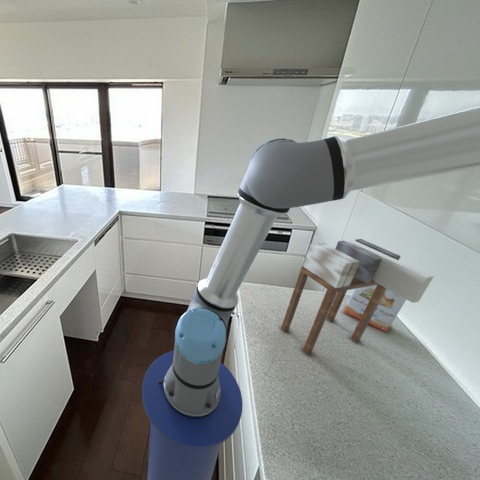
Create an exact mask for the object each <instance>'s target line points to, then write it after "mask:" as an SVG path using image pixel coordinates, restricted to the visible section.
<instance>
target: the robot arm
mask: <svg viewBox="0 0 480 480" xmlns="http://www.w3.org/2000/svg"><path fill="white" fill-rule="evenodd" d="M475 168H480V105H479V106H475V107H471V108H467V109H464V110H459V111H456V112H452V113H448V114H444V115H441V116H436V117H433V118H428V119H426V120H425V119H424V120H421V121H417V122H413V123H410V124H409V123H408V124H405V125H402V126H398V127H394V128H390V129H386V130H382V131H377V132H374V133H369V134H366V135H362V136H358V137H354V138H350V139H342V138H341V137H339V136H337V135H334V136H331V137H326V138H322V139H319V140H318V139H317V140H313V141H312V140H310V141H304V142H303V141H302V142H297V141H295V140H293V139H290V138H283V137H282V138H274V139H271V140H269V141H267V142H265V143H263V144H262V145H260V146H259V147H258V148H257V149H256V150H255V151H254V153H253V154H252V156H251V158H250V160H249V164H248V168H247V170H246V172H245V174H244V175H243V176H244V177H243V179H242V181H241V184H240V186H239V188H238V191H237V193H236V195H237V197H238V199H239V202H240V203H239V205H238V207H237V209H236V212H235V213H234V216H233V219H232V221H231V223H230V225H229V227H228V229H227V232H226V234H225V236H224V238H223V241H222V243H221V245H220V248H219V251H218V252H217V255H216V257H215V259H214V261H213V264H212V265H211V269H210V271H209V272H208V274H207V277H205V278H202V279H201V280H199V282H198V284H197V287H196V289H195V290H194V292H193V294H192V297H191V299H190V302H189V305H188V308H187V309H186V311H185V312H184V313H183V314H182V315H181V316H180V317H179V319H178V321H177V325H176V327H175V329H174V345H173V346H174V347H173V351H174V356H173V364H172V365H171V367H170V368H169V370H168V372H167V374H166V376H165V380H162V381H158V383H159V384H162V383H164V394H165V397H166V400H167V402H168V403H169V405H170V406H171V407H172V408H173V409H174V410H175V411H176V412H177V413H179V414H180V415H182V416H184V417H187V418H192V419H200V418H205V417H207V416H209V415H210V414H212V413H213V412H214V411H215V410H216V408H217V407H218V404H219V401H220V397H221V387H220V382H219V378H218V371H219V367H220V362H221V363H222V358H223V352H224V349H225V346H226V343H227V330H228V324H229V320H230V318H231V316H232V314H233V313H234V311H235V309H236V307H237V305H238V303H239V295H238V293H237V292H238V290H239V289H240V287H241V285H242V283H243V281H244V280H245V278H246V276H247V274H248V272H249V270H250V269H251V267H252V265H253V263H254V261H255V259H256V257H257V255H258V254H259V252H260V249H261V248H262V246H263V244H264V242H265V241H266V238H267V236H268V235H269V232H270V231H271V229H272V227H273V225H274V223H275V222H276V219H277V218H279V217H281V216H284V215H287V214H288V213H289V211H290V209H291V208H292V209H293V208H300V207H306V206H311V205H317V204H323V203H328V202H334V201H340V200H344V199H345V198H346V197H347V196H348V195H349V194H350V193H351V192H352V191H356V190H357V191H358V190H362V189H363V190H364V189H368V188H373V187H379V186H384V185H389V184H395V183H400V182H405V181H412V180H416V179H422V178H428V177H433V176H437V175H438V176H439V175H443V174H449V173H454V172H460V171H465V170H470V169H475Z"/></svg>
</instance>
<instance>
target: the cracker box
mask: <svg viewBox="0 0 480 480" xmlns="http://www.w3.org/2000/svg"><path fill="white" fill-rule="evenodd" d="M376 287H377V285H373V286H368V287H362V288H356V289H353V292H352V294H351V296H350V298H349V299H348V303H347V305H346V306H345V308H344V310H343V313H345V314H347V315H349V316H350V317H353V318H355V319H358V321H360V319H361V317H362V315H363V313H364V311H365V309H366V307H367V305H368V303H369V301H370V299H371V297H372V295H373V293H374V291H375V289H376ZM406 301H407V299H405V298H403V297H401V296H399V295H398V294H396V293H394V292H392V291H390V290H389V289H386V291H385V293H384V295H383V296H382V298H381V300H380V302H379V304H378V306H377V308H376V310H375V312H374V314H373V316H372V317H371V319H370V321H369V323H368V325H370V326H372V327H374V328H376V329H377V330H380V331H382V332H385V333H387V332H388V331H389V329H390V327H391V326H392V325H393V323H394V321H395V319H396V317H397V316H398V315H399V313H400V311H401V309H402V308H403V306H404V304H405V303H406Z"/></svg>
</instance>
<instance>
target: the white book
mask: <svg viewBox="0 0 480 480" xmlns="http://www.w3.org/2000/svg"><path fill="white" fill-rule="evenodd" d="M346 242H348V243H350V244H352V245H354V246H356V247H358V248H360V249H363V250H365V251H367V252H369V253H371V254H373V255H375V256H378V257H380V258H382V260H381V262H380V264H379V266H378V268H377V270H376V272H375V274H374V276H373V279H372V281H374V282H376V283H378V284H380V285H381V286H383V287H385V288H387V289H389V290H390V291H392V292H394V293H396V294H398V295H399V296H401V297H403V298H405V299H406V301H409V302H410V303H411V304H412V303H413V304H414V303H418V302H420V301H421V299H422V297H423V296H424V294H425V292H426V290H427V289H428V287H429V286H430V284H431V282H432V280H433V279H434V277H435V276H434V275H433V274H432V275H431V274H430V273H427V272H426V271H424V270H421V269H418V268H416V267H414V266H412V265H410V264H408V263H405V262H403V261H401V260H400V259H399V260H396V259H394V258H392V257H390V256H387V255H385V254H383V253H381V252H379V251H376V250H374V249H372V248H370V247H368V246H365V245H363V244H361V243H359V242H356V241H355V239H347V240H346Z"/></svg>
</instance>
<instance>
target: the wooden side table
mask: <svg viewBox="0 0 480 480" xmlns="http://www.w3.org/2000/svg"><path fill="white" fill-rule="evenodd" d="M354 241H356V242H359V243H361V244H363V245H365V246H368V247H370V248H372V249H374V250H376V251H379V252H381V253H383V254H385V255H387V256H390V257H392V258H394V259H396V260H399V261H400V258H401V257H402V256H401V255H400V254H397V253H394V252H392V251H391V250H388V249H386V248H384V247H381V246H378V245H377V244H374V243H372V242H370V241H367V240H365V239H363V238H355V239H354ZM381 260H382V258H380V257H378V256H375V255H373V254H371V253H369V252H367V251H365V250H363V249H360V248H358V247H356V246H354V245H352V244H350V243H348V242H347V241H346V240H338V241H337V243H336V245H335V248H334V247H332V246H331V245H328V244H327V243H325V242H319V243H310V244H309V247H308V250H307V253H306V256H305V259H304V262H303V265H302V266H301V267H300V270H299V273H298V276H297V279H296V283H295V285H294V288H293V291H292V294H291V297H290V300H289V304H288V306H287V309H286V313H285V315H284V318H283V321H282V324H281V327H280V329H281V330H282V331H283V332H289V331H290V327H291V325H292V322H293V319H294V316H295V314H296V311H297V308H298V306H299V303H300V299H301V296H302V294H303V291H304V288H305V285H306V282H307V280H308V277H309V278H310V279H312V280H313V281H315V282H316V283H317V284H319V285H321V286H322V287H324V289H326V291H325V294H324V295H323V299H322V301H321V304H320V306H319V309H318V311H317V313H316V316H315V319H314V320H313V324H312V326H311V328H310V331H309V334H308V336H307V338H306V341H305V343H304V346H303V348H302V352H304V353H305V354H306V355H311V354H312V352H313V350H314V347H315V345H316V343H317V341H318V338H319V336H320V334H321V331H322V329H323V327H324V324H325V322H326V320H327V321H329V322H334V321H335V319H336V316H337V314H338V312H339V311H340V307H341V306H342V303H343V301H344V299H345V296H346V294H347V292H348V291H350V290H354V289H356V288H362V287H368V286H373V285H377V287H376V289H375V291H374V293H373V295H372V297H371V299H370V301H369V303H368V305H367V307H366V309H365V311H364V313H363V315H362V317H361V319H360V320H358V323H357V325H356V327H355V329H354V331H353V332H352V335H351V337H350V339H351V340H352V341H354V342H355V343H357V342H360V341H361V339H362V337H363V334H364V333H365V331H366V329H367V327H368V325H369V324H368V323H369V321H370V319H371V317H372V316H373V314H374V312H375V310H376V308H377V306H378V304H379V302H380V300H381V298H382V296H383V295H384V293H385V291H386V289H387V288H385V287H383V286H381V285H380V284H378V283H376V282H374V281H372V279H373V276H374V274H375V272H376V270H377V268H378V266H379V264H380V262H381Z"/></svg>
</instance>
